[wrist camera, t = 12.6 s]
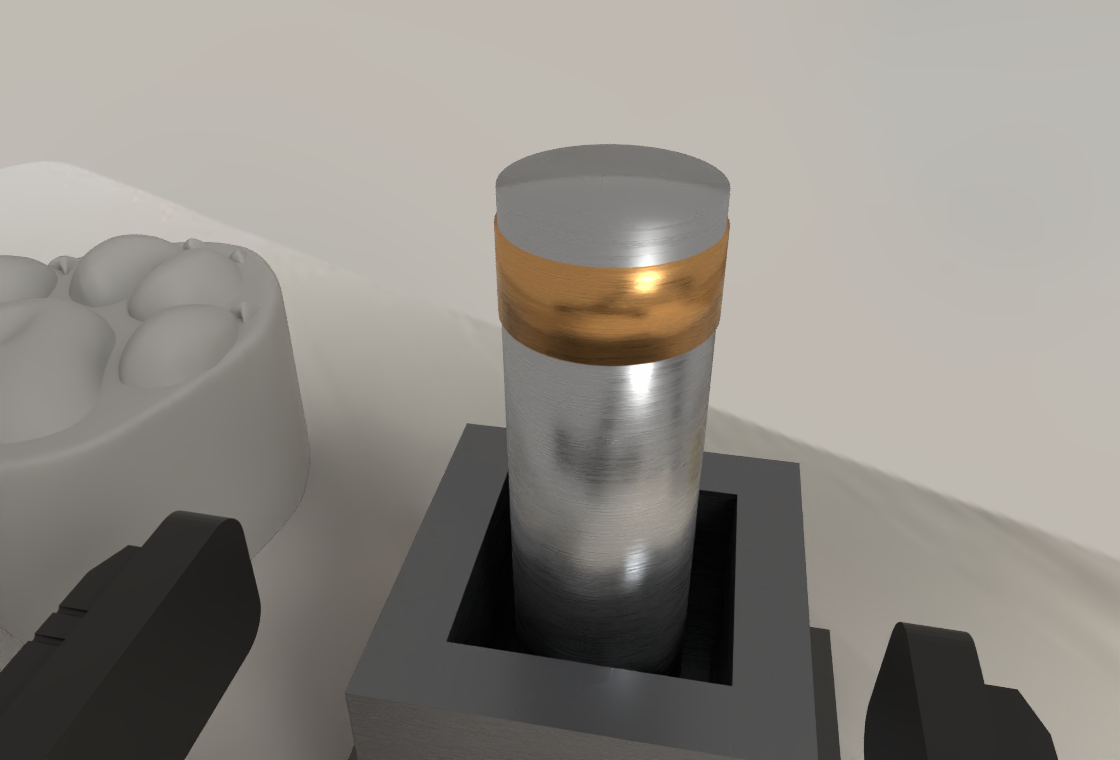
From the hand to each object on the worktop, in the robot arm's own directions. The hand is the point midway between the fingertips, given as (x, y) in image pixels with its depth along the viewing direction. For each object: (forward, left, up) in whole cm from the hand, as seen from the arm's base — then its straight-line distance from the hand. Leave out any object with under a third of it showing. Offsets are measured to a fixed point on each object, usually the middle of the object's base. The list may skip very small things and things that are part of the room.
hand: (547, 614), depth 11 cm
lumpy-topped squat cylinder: (+17, -14, -13) cm, 25 cm away
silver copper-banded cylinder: (0, -6, -11) cm, 12 cm away
